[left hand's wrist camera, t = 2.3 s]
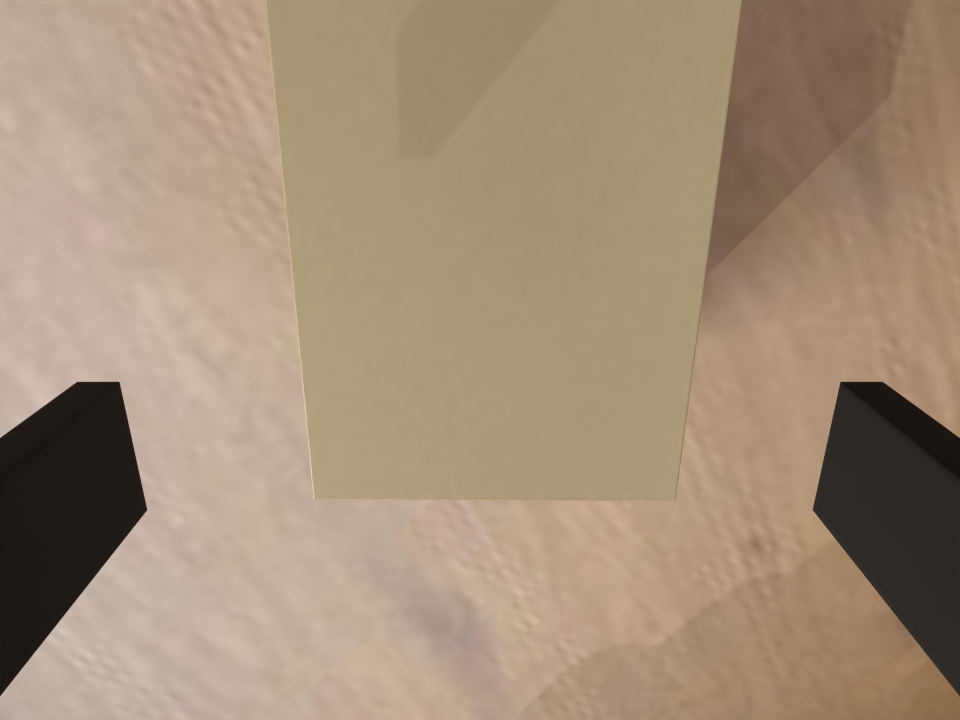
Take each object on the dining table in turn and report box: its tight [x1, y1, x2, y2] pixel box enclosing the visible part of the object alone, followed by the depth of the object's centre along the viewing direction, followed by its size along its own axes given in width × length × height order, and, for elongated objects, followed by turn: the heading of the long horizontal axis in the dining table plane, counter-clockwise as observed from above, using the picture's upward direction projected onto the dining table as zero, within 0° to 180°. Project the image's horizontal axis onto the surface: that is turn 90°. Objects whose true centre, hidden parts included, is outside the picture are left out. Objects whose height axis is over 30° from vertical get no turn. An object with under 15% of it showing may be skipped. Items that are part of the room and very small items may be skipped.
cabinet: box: [265, 0, 743, 501], centre depth 21 cm, size 20×10×10 cm, turn 0°
